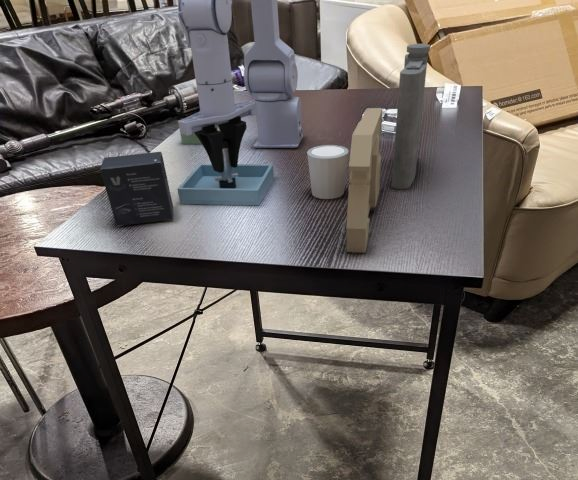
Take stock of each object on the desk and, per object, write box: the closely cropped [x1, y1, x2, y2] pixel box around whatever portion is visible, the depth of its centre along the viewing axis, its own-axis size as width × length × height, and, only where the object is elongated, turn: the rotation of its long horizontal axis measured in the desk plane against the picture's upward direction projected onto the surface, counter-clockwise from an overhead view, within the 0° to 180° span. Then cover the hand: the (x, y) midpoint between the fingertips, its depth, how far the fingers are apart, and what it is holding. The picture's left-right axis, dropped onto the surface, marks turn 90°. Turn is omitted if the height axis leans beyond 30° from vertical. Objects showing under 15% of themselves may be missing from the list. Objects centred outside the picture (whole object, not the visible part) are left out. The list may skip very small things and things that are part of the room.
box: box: [99, 151, 174, 228], centre depth 84 cm, size 9×6×10 cm, turn 99°
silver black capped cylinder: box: [215, 138, 239, 189], centre depth 91 cm, size 4×4×8 cm
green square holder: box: [179, 125, 220, 145], centre depth 118 cm, size 10×10×2 cm
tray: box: [176, 163, 275, 206], centre depth 94 cm, size 14×12×3 cm
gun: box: [346, 107, 383, 254], centre depth 78 cm, size 24×3×15 cm, turn 168°
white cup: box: [306, 144, 350, 200], centre depth 89 cm, size 7×7×7 cm
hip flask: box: [391, 43, 431, 190], centre depth 90 cm, size 16×4×20 cm, turn 167°
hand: (225, 168), depth 92 cm, fingers closed on silver black capped cylinder, 2 cm apart
